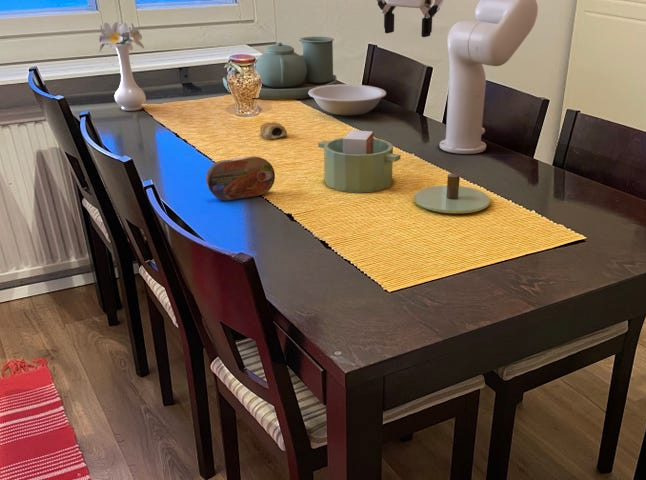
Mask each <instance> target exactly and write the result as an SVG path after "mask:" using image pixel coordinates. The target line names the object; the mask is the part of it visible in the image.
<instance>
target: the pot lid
mask: <svg viewBox="0 0 646 480" xmlns="http://www.w3.org/2000/svg"><path fill="white" fill-rule="evenodd" d="M460 178H461V175H460V174H458V173H448V174H447V180H446V181H447V182H446V183H447V184H446V185H435V186H429V187H425V188H422V189H420V190H418V191H417V192H416V193H414V198H413V200H414V202H415V204H417V206H419V207H421V208H423V209H426V210H429V211H431V212H436V213H437V212H438V213H444V214H468V213H469V214H470V213H475V212H479V211H482V210H484V209H486V208H488V207H489V206H490V204H491V198H490V196H489V194H487V193H486V192H484V191H481V190H479V189H475V188H472V187H468V186H461V185H460V181H461V180H460Z"/></svg>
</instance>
